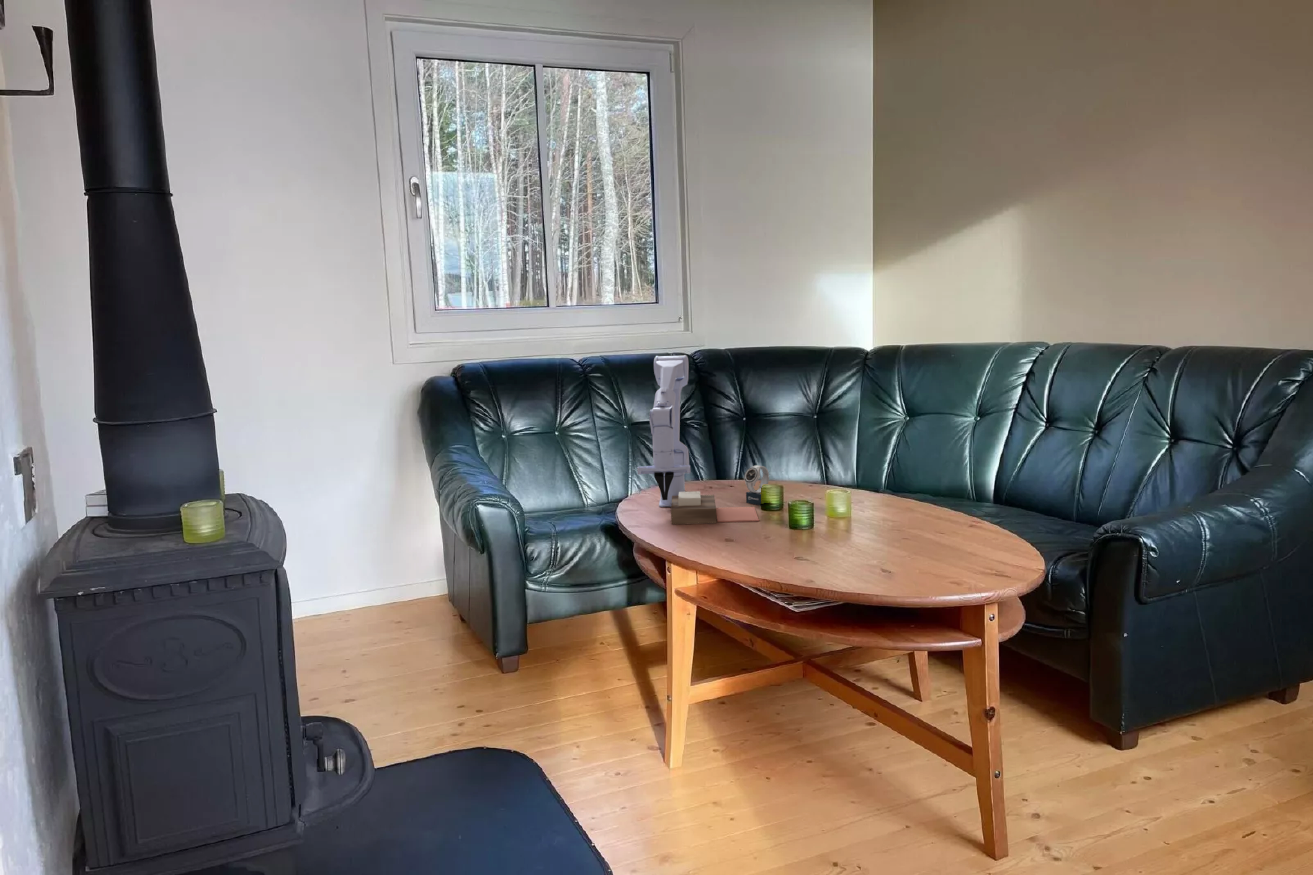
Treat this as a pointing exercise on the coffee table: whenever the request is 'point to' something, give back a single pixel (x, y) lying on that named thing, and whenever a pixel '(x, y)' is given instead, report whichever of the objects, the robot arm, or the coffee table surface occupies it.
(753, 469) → the watch
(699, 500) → the tile
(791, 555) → the coffee table surface
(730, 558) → the coffee table surface
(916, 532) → the coffee table surface
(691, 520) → the brown wooden block
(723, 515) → the mat
